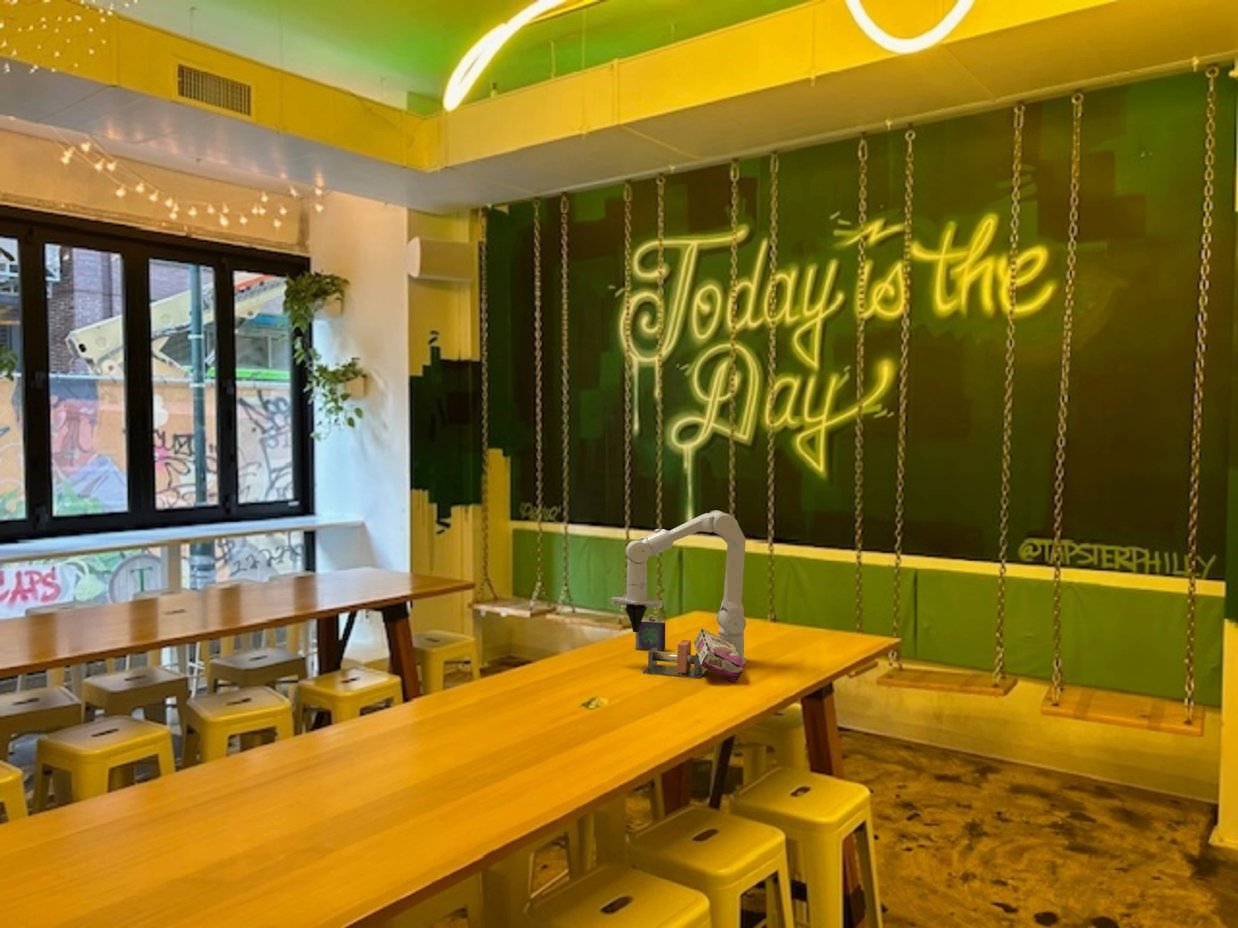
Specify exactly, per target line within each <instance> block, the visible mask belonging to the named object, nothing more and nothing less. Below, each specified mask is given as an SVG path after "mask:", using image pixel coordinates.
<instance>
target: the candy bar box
mask: <svg viewBox="0 0 1238 928" xmlns="http://www.w3.org/2000/svg"><path fill="white" fill-rule="evenodd" d="M718 636H719V635H716V634H714V633H711V632H710V631H708V630H706V629H704V628H701V629H700V631H699V633H698V635H697V636H696V638H695V640H694V641H693V644H694V647H695V651H696V654H698V657H699V661H700V664H701V666H702V668H704V669H707V670H709V671H711V672H713V673H716V674H718V675H720V676H721V677H723V678H726V679H728V680H729V681H732V682H734V683H737V682H738V681H739V679H740V676H741V675H742V674H743V671H744V670H745V667H744V666H743V664H742V661H741V659H740V656H739V654H738V651H737V649H736V646H735V645H734V644H732V643H730V642H728V641H726V640H724V639H722V638H720V637H718Z"/></svg>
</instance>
